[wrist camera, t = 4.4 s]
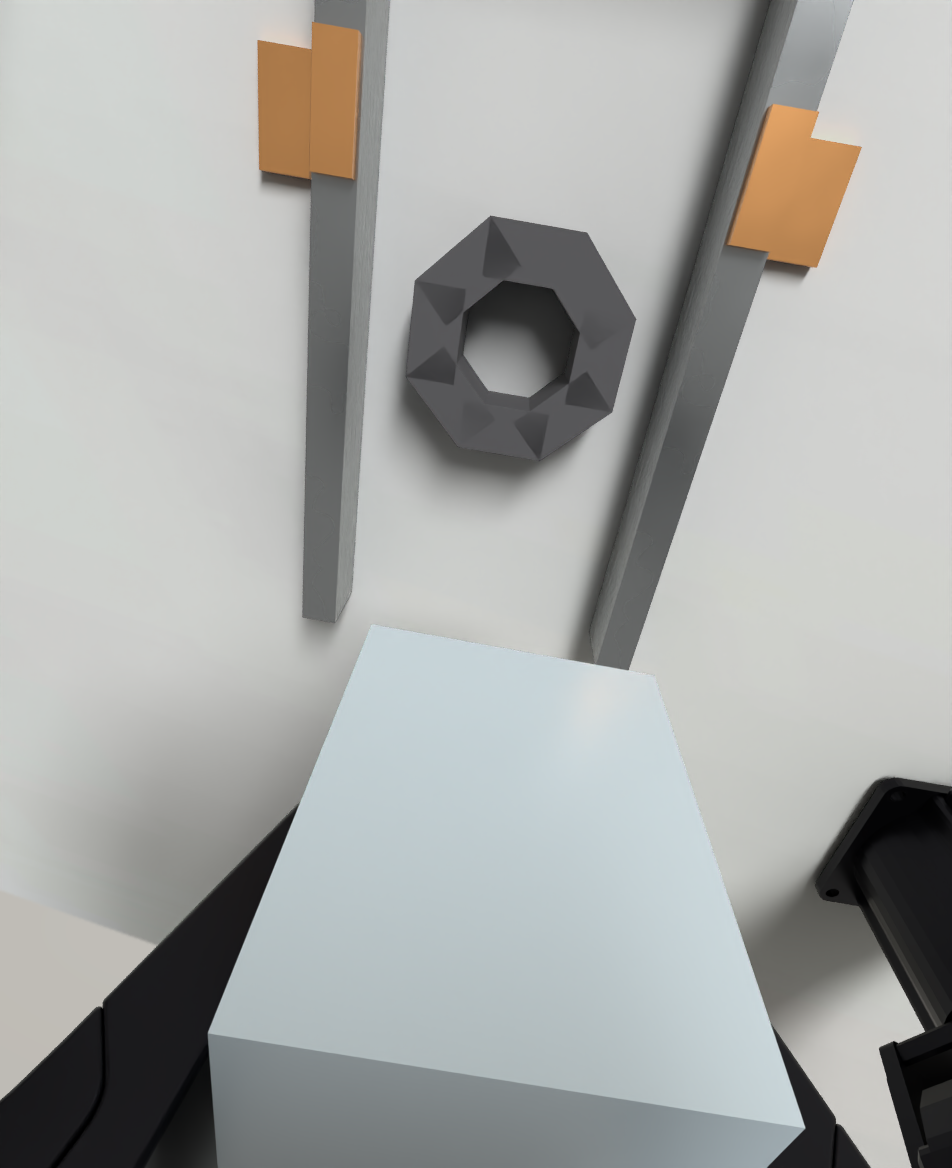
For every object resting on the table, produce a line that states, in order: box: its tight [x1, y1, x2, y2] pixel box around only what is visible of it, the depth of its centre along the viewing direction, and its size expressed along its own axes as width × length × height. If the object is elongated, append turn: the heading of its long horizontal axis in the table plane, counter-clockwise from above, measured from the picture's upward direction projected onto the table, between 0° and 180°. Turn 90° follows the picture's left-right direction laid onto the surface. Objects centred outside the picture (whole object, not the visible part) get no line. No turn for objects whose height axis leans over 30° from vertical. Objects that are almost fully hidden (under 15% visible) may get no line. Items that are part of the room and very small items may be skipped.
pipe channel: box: [258, 0, 862, 670], centre depth 15 cm, size 19×14×2 cm
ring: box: [406, 216, 636, 461], centre depth 15 cm, size 5×5×2 cm
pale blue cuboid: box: [208, 624, 805, 1168], centre depth 7 cm, size 5×4×5 cm
